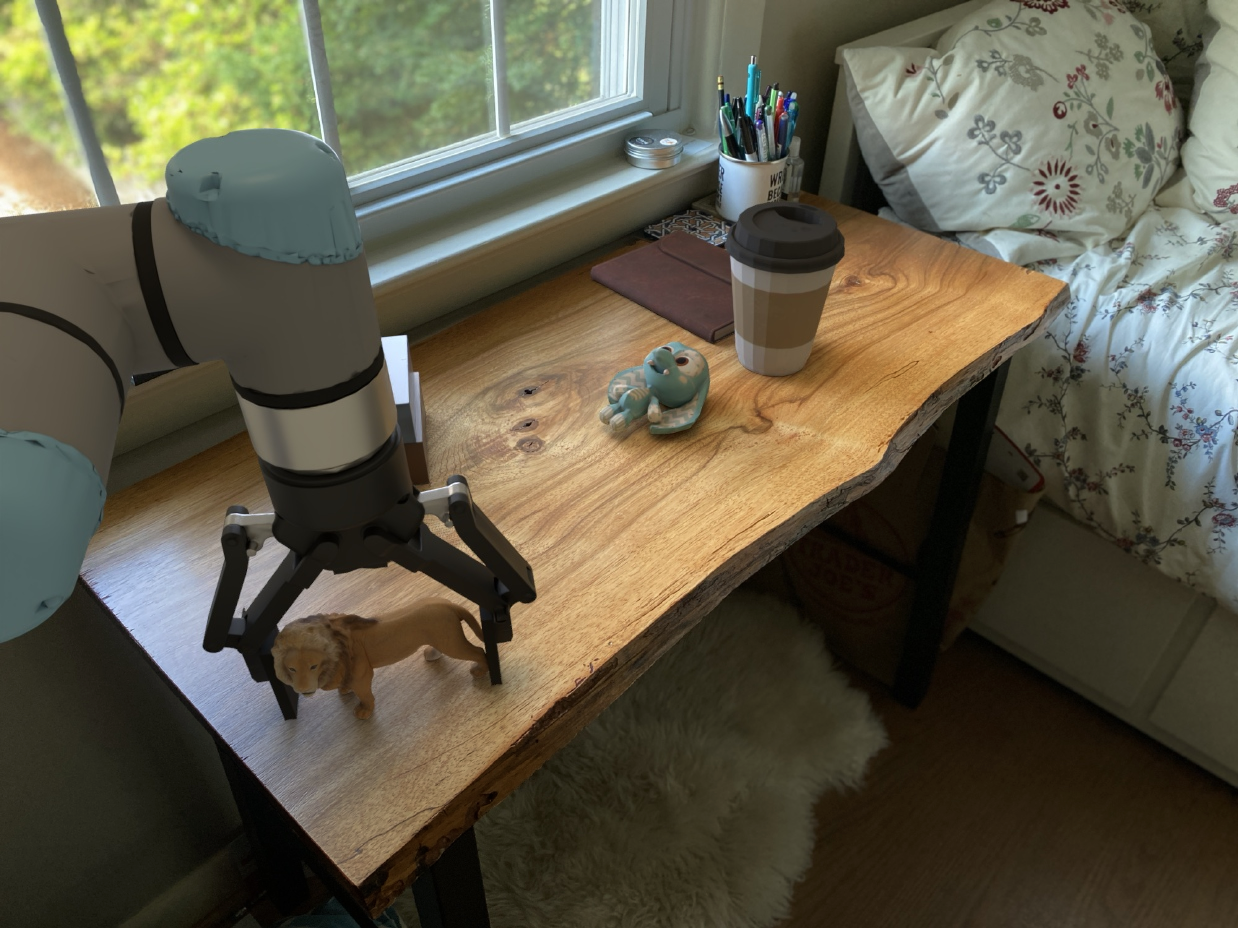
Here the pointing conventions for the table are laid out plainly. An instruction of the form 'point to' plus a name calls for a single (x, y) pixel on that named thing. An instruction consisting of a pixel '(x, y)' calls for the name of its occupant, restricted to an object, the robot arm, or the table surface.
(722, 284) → the notebook
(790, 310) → the coffee cup
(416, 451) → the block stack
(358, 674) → the lion figurine
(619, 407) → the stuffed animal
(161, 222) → the robot arm
